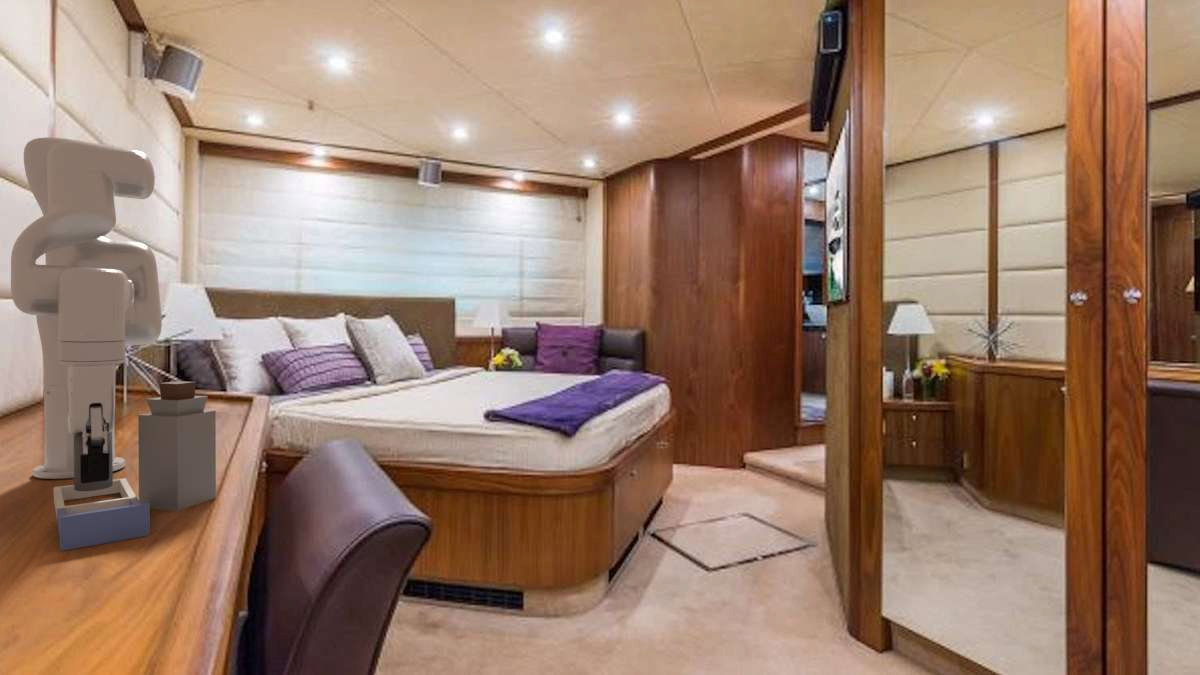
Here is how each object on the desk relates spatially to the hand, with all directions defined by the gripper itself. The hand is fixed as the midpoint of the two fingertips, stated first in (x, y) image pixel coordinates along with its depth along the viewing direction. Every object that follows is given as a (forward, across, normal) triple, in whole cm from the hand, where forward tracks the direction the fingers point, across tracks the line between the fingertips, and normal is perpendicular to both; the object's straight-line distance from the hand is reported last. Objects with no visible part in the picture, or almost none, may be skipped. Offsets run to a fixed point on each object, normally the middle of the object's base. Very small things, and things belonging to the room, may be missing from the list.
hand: (93, 476), depth 92 cm
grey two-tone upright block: (+2, 0, 0) cm, 2 cm away
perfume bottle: (+4, +6, +10) cm, 12 cm away
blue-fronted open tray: (+4, +7, 0) cm, 8 cm away
